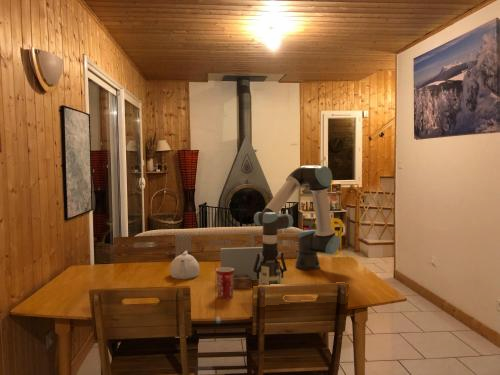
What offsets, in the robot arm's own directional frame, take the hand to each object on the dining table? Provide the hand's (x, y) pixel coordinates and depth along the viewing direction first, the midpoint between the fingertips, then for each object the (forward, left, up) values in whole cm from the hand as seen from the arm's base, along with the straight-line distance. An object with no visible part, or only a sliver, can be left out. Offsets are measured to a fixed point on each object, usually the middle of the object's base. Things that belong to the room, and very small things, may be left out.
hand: (269, 284), depth 225 cm
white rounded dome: (+44, -33, -3) cm, 55 cm away
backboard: (+11, -19, -2) cm, 22 cm away
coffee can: (0, 0, -2) cm, 2 cm away
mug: (+24, +10, -3) cm, 26 cm away
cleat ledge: (+16, -11, -2) cm, 20 cm away
